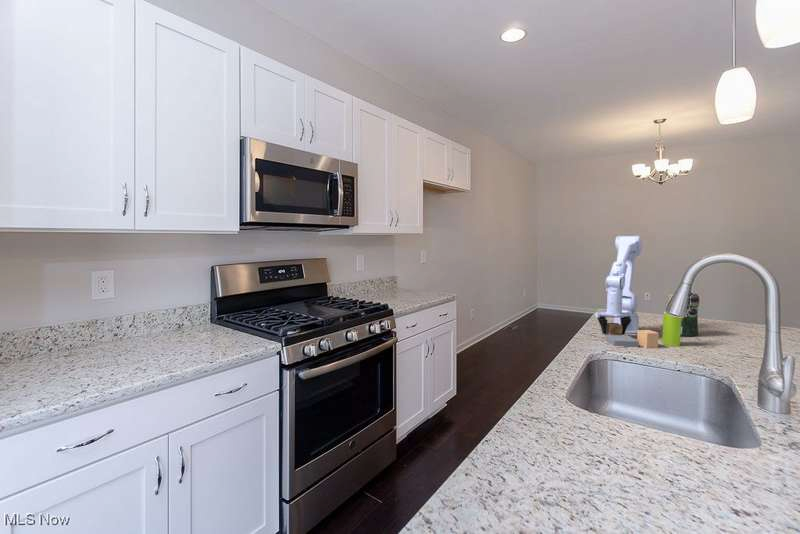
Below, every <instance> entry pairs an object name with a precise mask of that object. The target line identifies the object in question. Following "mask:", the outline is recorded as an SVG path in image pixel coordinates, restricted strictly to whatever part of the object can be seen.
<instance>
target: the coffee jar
mask: <svg viewBox="0 0 800 534" xmlns="http://www.w3.org/2000/svg"><path fill="white" fill-rule="evenodd" d="M699 305H700V296H699V295H698V294H697V293H692V297H691V305H690V309H689V311H688V313H687V317H684V318H681V332H680V337H681V336H683V337H695V336H698V335H699V323H698V321H699V320H698V319H699V318H698V317H699V316H698V312H699V311H698V310H699Z"/></svg>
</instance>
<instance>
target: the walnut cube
mask: <svg viewBox="0 0 800 534" xmlns="http://www.w3.org/2000/svg"><path fill="white" fill-rule="evenodd" d="M605 335H623V334H622V325H620V324H618V323H614V322H607V325H606V334H604V336H605Z"/></svg>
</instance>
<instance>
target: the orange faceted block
mask: <svg viewBox="0 0 800 534" xmlns="http://www.w3.org/2000/svg"><path fill="white" fill-rule="evenodd" d="M636 334H637V336H636V337H637V339H636V340H637V341H639V345H640V346H639V347H642V346H643V347H642V348H644V347H646V348H645V349H658V348H659V335H660V334H659V332H657V331H654V330H650V329H641V330H640V329H638V333H636Z"/></svg>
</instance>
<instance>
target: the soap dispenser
mask: <svg viewBox="0 0 800 534" xmlns="http://www.w3.org/2000/svg"><path fill="white" fill-rule="evenodd" d="M672 295H673V294H670V295H669V298H670V299H671V297H672ZM665 311H666V310H665ZM665 311H664V310H663V314H662V315H663V316H662V317H663V319H662V337H661V339H662V340H661V343H662V345H665V346H669V347H679V346H681V335H680V332H681V318H679V317H673V316H670V315H668V314H666V312H665Z"/></svg>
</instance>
